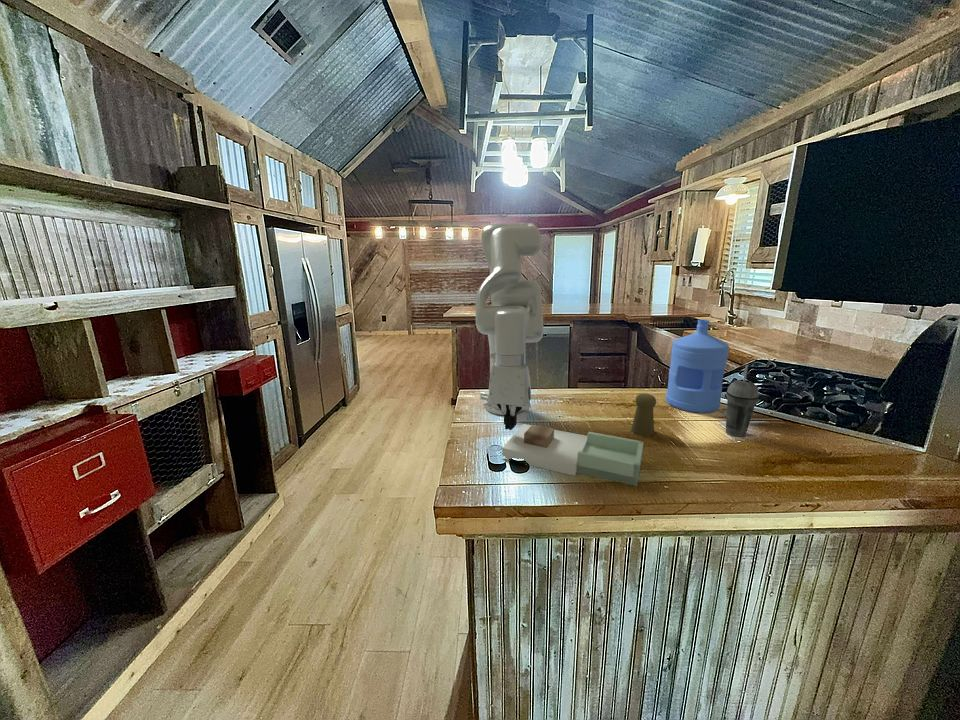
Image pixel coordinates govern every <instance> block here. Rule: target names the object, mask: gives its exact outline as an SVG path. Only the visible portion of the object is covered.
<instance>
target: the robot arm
mask: <svg viewBox="0 0 960 720" xmlns="http://www.w3.org/2000/svg"><path fill="white" fill-rule="evenodd" d="M480 234H481V236H480V237H481V246H482V247H481V248H482V252H483V255H484V258H485V261H486V263H487V265H488V267H489V275H488V276H487V277H486V278H485V280H484V281H482V283H481V285H480V286H479V288H478V290H477V292H476V297H475V326H476V329H477V331H478V332H479V333H480V334H483V335H487V338H488V345H489V346H488V347H489V380H488V381H489V383H488V384H489V385H488V392H486V391H481V392H480V393H479V396H480V397H479V398H480V400H481V401H487V402H486V403H485V409H486V410H487V411H488V412H489V413H491V414H494V415H500V416H503V425H504V429H505V430H509V431H512V430H513V429H514V428H515V427H516V426H517V423H518V421H517V420H518V417H517V415H518V414H520V413H521V412H524V411H526V410H529V409H531V408H532V407H531V405H532V404H531V402H530V401H531V398H532V386H531V376H530V369H529V366H528V364H526V343H538V342H540V341H541V340H542V338H543V336H544V315H543V314H544V313H543V299H542V290H541V286H540V284H539V283H538V282H537V281H535V280H533V279H521V277H522V271H523V270H522V259H521V257H535V256H538V254H539V253H540V251H541V247H542V238H541V237H542V235H541V232H540V230H539V228H538V226H537V225H535V224H534V223H533V222H518V223H517V222H514V223H513V222H510V223H509V222H507V223H506V222H504V223H501V222H500V223H493V224H489V225H486V226H484V228H483V229H482V231H481V233H480ZM488 298H490V302H491V305H486V303H487V300H488Z"/></svg>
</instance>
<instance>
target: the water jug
mask: <svg viewBox="0 0 960 720" xmlns="http://www.w3.org/2000/svg"><path fill="white" fill-rule="evenodd" d="M709 323H710V320H709V319H697V325H696V331H695V332H694V333H691V334H688V335H685V336H681V337H678V338H675V339H674V340H673V341H672V345H671V357H670V365H669V370H668V380H667V381H668V383H667V389H666V390H667V391H666V395H665V401H666V402H667V403H668V404H669V405H670V406H672V407H674V408H676V409H678V410H682V411H686V412H690V413H696V414H697V413H699V414H700V413H701V414H705V413H713V412H716V411H718V410H719V409H720V408H721V403H722V401H721V399H722V392H723V381H724V380H723V379H724V373H725V368H727V362H728V361H727V360H728V357H729V349H730V346H729V344H728V343H726V342H725V341H723V340H722V339H719V338H717V337H715V336H714V335H712V334H710V333H709V332H708V331H709Z"/></svg>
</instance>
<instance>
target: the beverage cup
mask: <svg viewBox="0 0 960 720" xmlns="http://www.w3.org/2000/svg"><path fill="white" fill-rule="evenodd" d="M748 369H749V364H745V368H744V375H743V379H741V378H740V379H738V380H737V379H736V380H735V381H733V382H731V383H730V384H729V385H728V387H727V390H726V401H727V402H726V416H725V417H726V419H725V433H726V434H727V436H730V437H732V438H740V439H741V438H745V437H746V434H747V432H748V430H749V426H750V423H751V420H752V415H753V413H754V409H755V406H756V405H757V403H758V399H760V396H759V395H760V393H759V389H758V386H757V385H756V384H755V383H753V382H752V381H751V380H748V379H747V375H748Z"/></svg>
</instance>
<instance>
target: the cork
mask: <svg viewBox="0 0 960 720" xmlns="http://www.w3.org/2000/svg"><path fill="white" fill-rule="evenodd" d="M656 404H657V399H656V397H655V396H654V395H653V394H650V393H639V394H638V395H637V396H636V397H635V405H636V409H635V414H634V417H633V420H632V421H633V422H632V424H631V430H630V431H631V433H632V432H633V433H632V434H634V435H636V436H638V437H639V436H640V437H644V436H645V438H646V437H647V436H649V437H652V436H651V435H653V434H654V435H655V421H654V420H655V419H654V408H655V406H656ZM654 435H653V436H654Z"/></svg>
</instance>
